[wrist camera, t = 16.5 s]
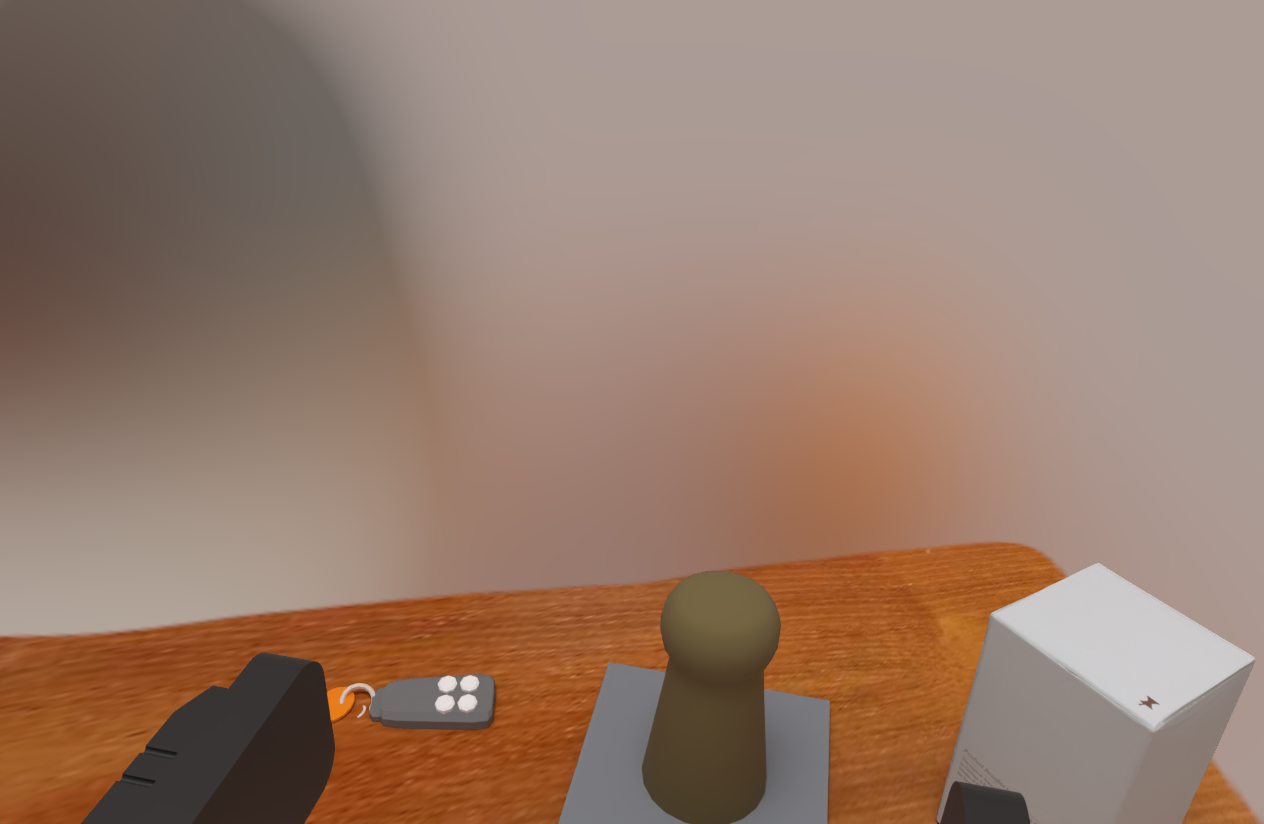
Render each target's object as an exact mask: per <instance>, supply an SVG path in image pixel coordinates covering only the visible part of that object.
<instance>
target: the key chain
mask: <svg viewBox="0 0 1264 824" xmlns="http://www.w3.org/2000/svg"><path fill="white" fill-rule="evenodd" d="M358 688H360V689H365V690H366V691H368V692H369V694H370V696H371V705H370V707H369V709H370V710H369V709H368V710H369V715H370V717H371V719H372V721H373V722H381V723H382V725H383V726H386V727H393V728H410V729H449V730H478V729H484V728H488V727H489V726H490V724H491V723H492V722H493V713H494V705H495V681H494V679H493V678H492V676H488V675H481V674H474V675H458V676H442V677H427V678H413V679H402V680H397V681H392V682H390V683H389V684H388V685H387V686H385V688H379V689H378V690H377V691H376V692H374V690H373V688H371V687H370V686H368V685H367V684H362V683H357V684H354V685H350V686H349V687H348V688H347V687H338V688H335V689H332V690H330V691H329V692H327V697H328V703H329V709H330V716H331V722H332V723H333V722H336V721H338V720H340V719H341V718H343V717H345V716H346V715H347V714H348V713H349V711H350V710H351V709H352V707H353V705H354V703H355V695H354V693H353V691H352V690H354V689H358ZM365 712H366V706H364V705H363V711H362V712H361V714H360V715H359V716H357V717H361V716H362V715H364V713H365Z"/></svg>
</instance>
